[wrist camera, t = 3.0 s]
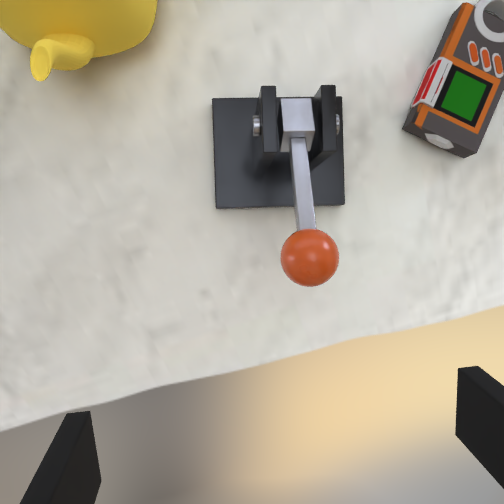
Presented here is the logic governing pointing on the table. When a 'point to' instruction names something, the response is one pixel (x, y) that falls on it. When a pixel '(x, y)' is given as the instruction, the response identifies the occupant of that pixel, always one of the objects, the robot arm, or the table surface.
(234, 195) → the switch bracket
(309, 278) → the switch lever
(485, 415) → the robot arm
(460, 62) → the electronic device
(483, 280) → the table surface
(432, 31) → the table surface
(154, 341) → the table surface
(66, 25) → the teapot
